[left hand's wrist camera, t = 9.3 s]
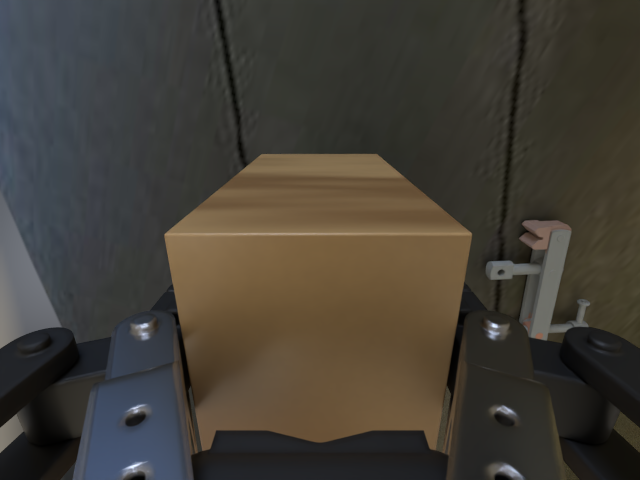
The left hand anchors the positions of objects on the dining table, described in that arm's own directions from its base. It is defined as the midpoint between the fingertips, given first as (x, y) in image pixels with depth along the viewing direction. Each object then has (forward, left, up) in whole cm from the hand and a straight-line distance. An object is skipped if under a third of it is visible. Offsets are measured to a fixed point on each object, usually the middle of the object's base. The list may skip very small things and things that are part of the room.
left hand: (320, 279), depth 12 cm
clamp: (-12, +20, -18) cm, 29 cm away
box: (+4, +8, -7) cm, 11 cm away
